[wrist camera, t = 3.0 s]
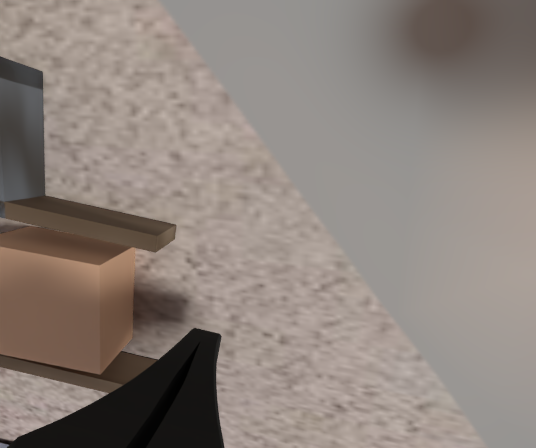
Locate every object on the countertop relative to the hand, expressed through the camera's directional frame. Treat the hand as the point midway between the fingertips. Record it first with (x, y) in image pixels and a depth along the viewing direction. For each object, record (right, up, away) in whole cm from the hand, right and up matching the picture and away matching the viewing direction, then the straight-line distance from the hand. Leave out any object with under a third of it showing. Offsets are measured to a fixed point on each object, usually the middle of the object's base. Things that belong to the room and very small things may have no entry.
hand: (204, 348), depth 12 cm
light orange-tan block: (-8, +2, +3) cm, 9 cm away
